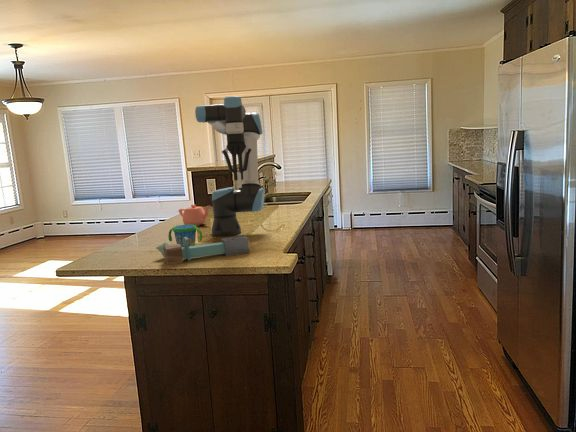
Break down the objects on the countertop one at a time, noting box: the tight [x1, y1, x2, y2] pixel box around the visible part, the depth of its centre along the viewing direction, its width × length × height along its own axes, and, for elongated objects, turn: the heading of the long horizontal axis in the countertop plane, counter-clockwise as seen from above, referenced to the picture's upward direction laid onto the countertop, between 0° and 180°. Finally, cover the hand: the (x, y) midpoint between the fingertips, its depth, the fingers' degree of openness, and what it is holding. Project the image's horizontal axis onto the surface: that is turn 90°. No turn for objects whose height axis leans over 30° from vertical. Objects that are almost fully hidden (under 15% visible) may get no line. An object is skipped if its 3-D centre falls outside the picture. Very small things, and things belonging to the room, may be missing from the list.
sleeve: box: [220, 235, 250, 257], centre depth 194 cm, size 7×10×6 cm, turn 110°
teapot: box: [178, 204, 212, 228], centre depth 268 cm, size 13×20×12 cm, turn 80°
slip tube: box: [182, 237, 225, 262], centre depth 189 cm, size 6×24×9 cm, turn 110°
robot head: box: [155, 241, 172, 258], centre depth 193 cm, size 8×4×7 cm, turn 83°
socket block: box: [164, 243, 184, 265], centre depth 186 cm, size 7×6×6 cm
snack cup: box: [168, 224, 203, 247], centre depth 209 cm, size 16×10×10 cm
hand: (239, 187), depth 203 cm, fingers closed
